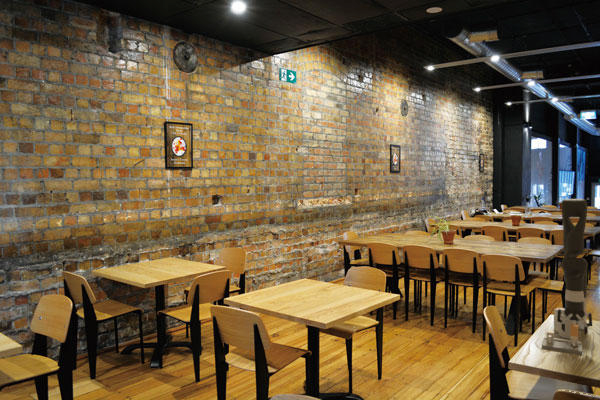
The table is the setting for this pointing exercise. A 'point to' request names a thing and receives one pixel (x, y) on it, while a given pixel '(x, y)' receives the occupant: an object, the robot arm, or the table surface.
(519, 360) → the table surface
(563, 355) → the table surface
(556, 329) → the skincare box
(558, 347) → the gauge board
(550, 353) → the table surface
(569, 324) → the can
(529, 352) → the table surface
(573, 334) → the divider leg
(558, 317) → the robot arm
